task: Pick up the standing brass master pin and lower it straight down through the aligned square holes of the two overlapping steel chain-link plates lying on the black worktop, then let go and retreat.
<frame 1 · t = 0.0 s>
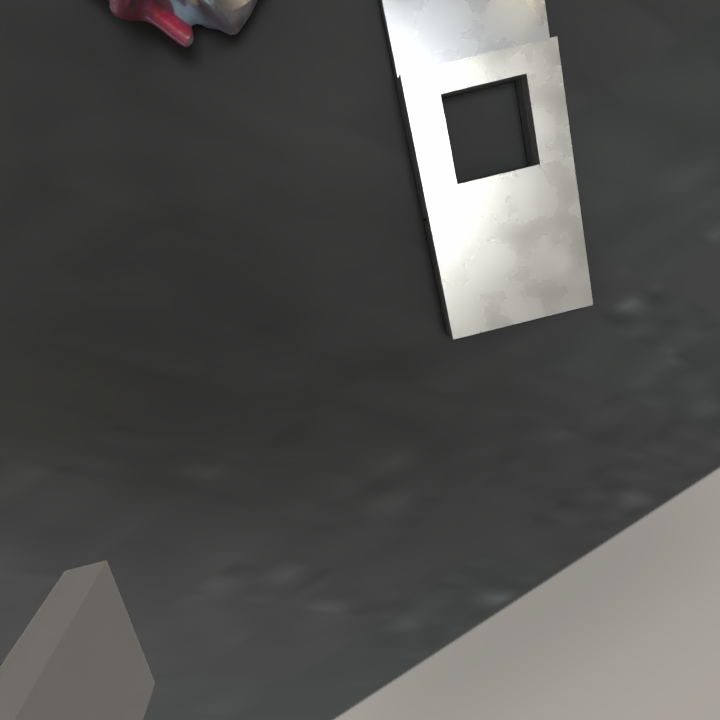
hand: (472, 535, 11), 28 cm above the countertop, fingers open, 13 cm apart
upper link: (494, 208, 37), resting on lower link
lower link: (468, 54, 35), on the countertop
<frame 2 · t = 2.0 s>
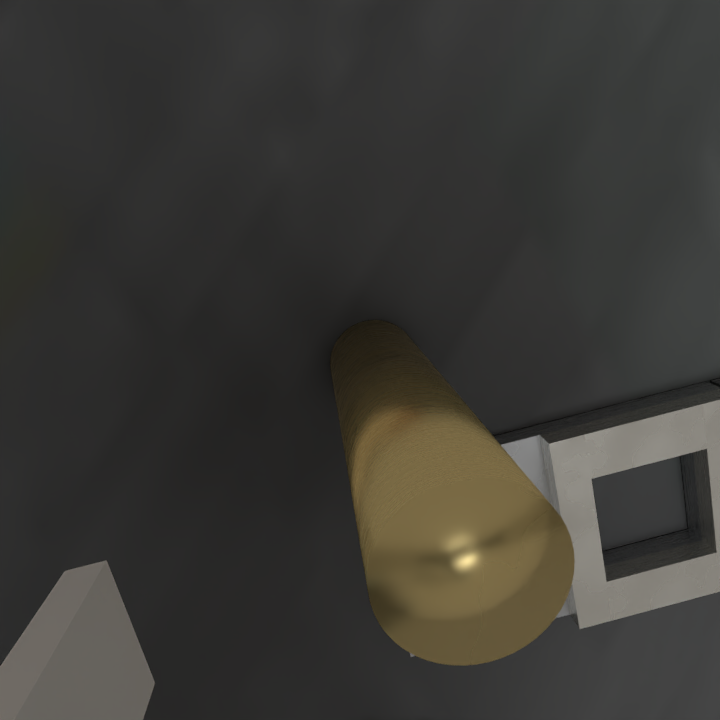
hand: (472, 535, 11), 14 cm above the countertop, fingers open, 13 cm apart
lower link: (535, 520, 27), on the countertop
master pin: (373, 363, 25), on the countertop
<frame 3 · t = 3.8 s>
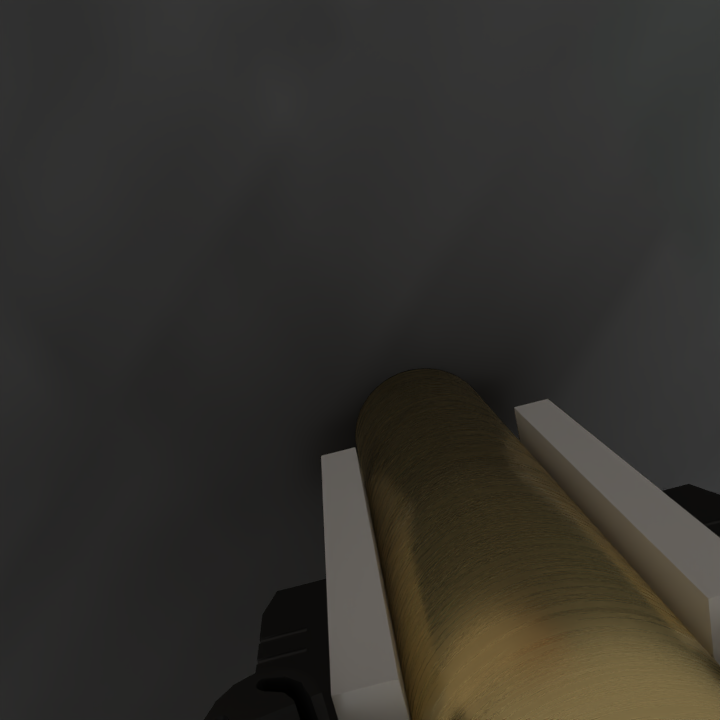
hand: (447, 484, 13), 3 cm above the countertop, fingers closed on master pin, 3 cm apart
master pin: (422, 433, 16), on the countertop, touching gripper
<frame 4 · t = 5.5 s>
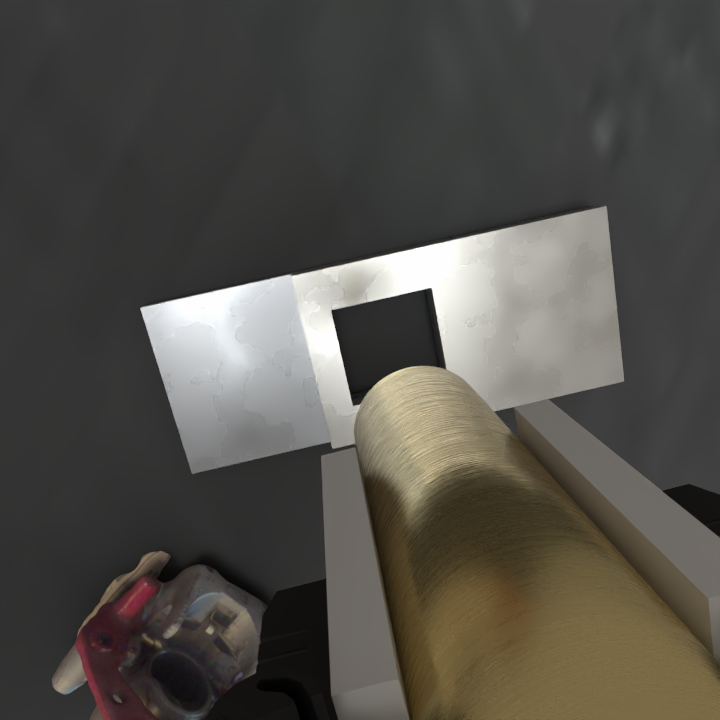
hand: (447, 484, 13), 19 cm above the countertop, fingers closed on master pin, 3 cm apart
upper link: (469, 320, 32), resting on lower link
lower link: (302, 358, 31), on the countertop
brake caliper: (190, 627, 35), on the countertop
master pin: (420, 430, 16), point 16 cm above the countertop, touching gripper
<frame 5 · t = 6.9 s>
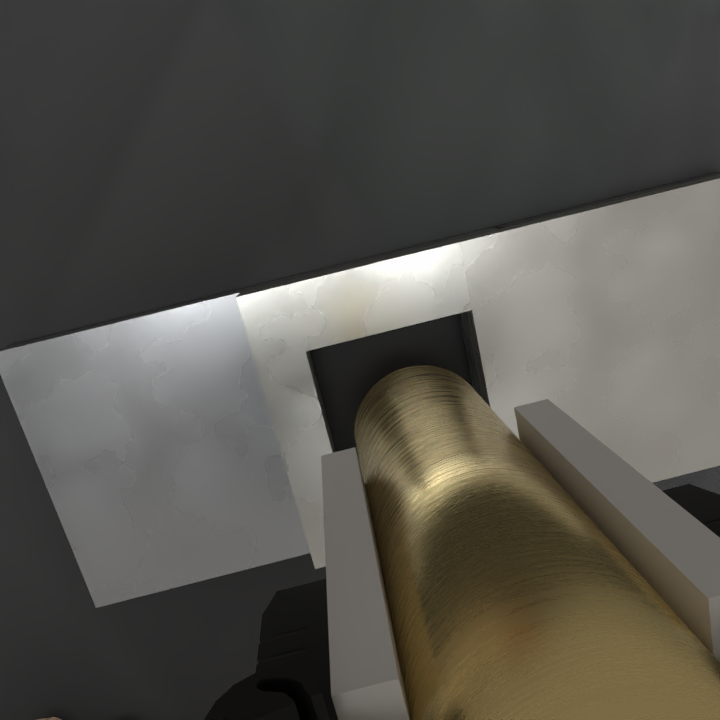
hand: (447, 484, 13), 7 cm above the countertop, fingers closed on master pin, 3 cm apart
upper link: (527, 357, 20), resting on lower link
lower link: (266, 423, 20), on the countertop
master pin: (420, 429, 16), point 4 cm above the countertop, touching gripper
when the fingers open (4 cm above the countertop, at t = 7.7 s): master pin stays where it is, on the countertop.
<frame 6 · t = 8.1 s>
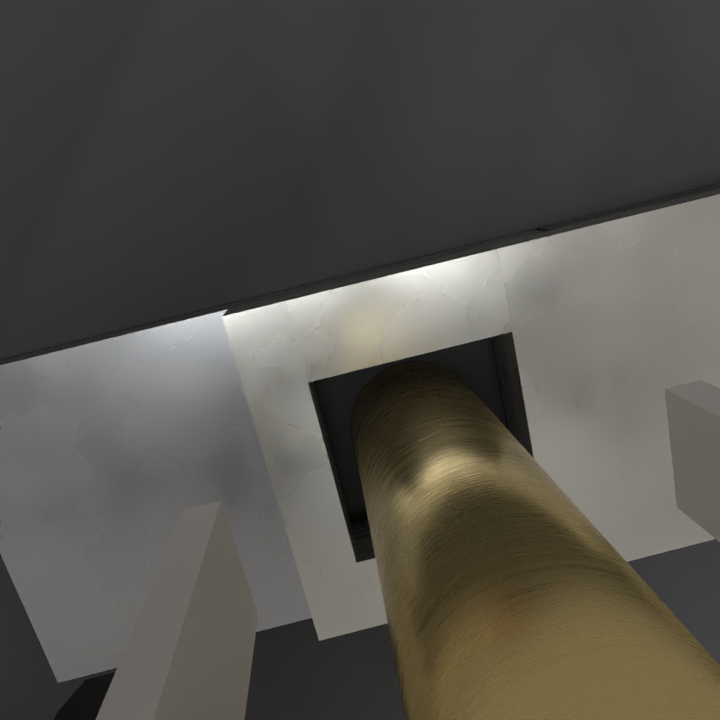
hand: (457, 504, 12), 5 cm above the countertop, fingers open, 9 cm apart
upper link: (572, 384, 17), resting on lower link
lower link: (260, 463, 17), on the countertop
master pin: (415, 423, 17), on the countertop
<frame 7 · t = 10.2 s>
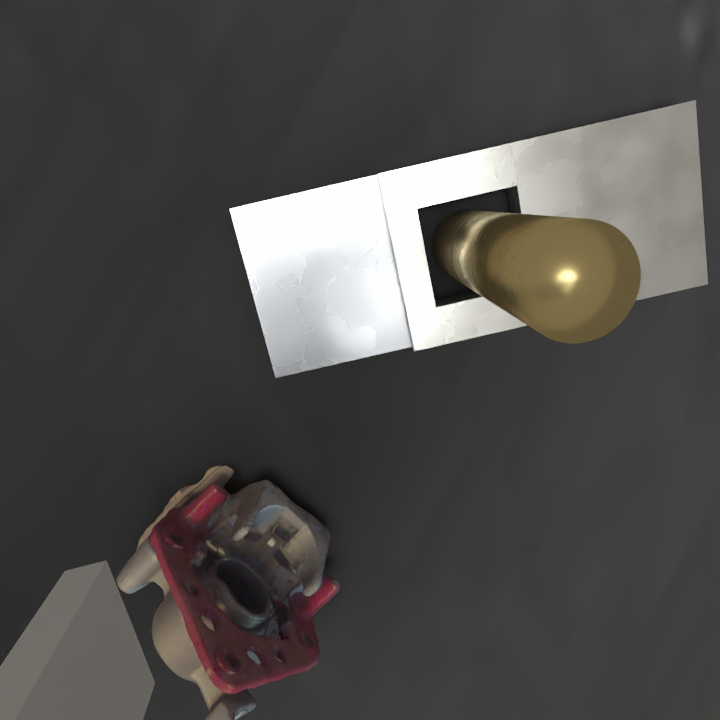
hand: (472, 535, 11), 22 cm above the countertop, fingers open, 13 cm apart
upper link: (549, 225, 32), resting on lower link
lower link: (383, 264, 32), on the countertop
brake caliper: (246, 544, 36), on the countertop
master pin: (465, 244, 32), on the countertop
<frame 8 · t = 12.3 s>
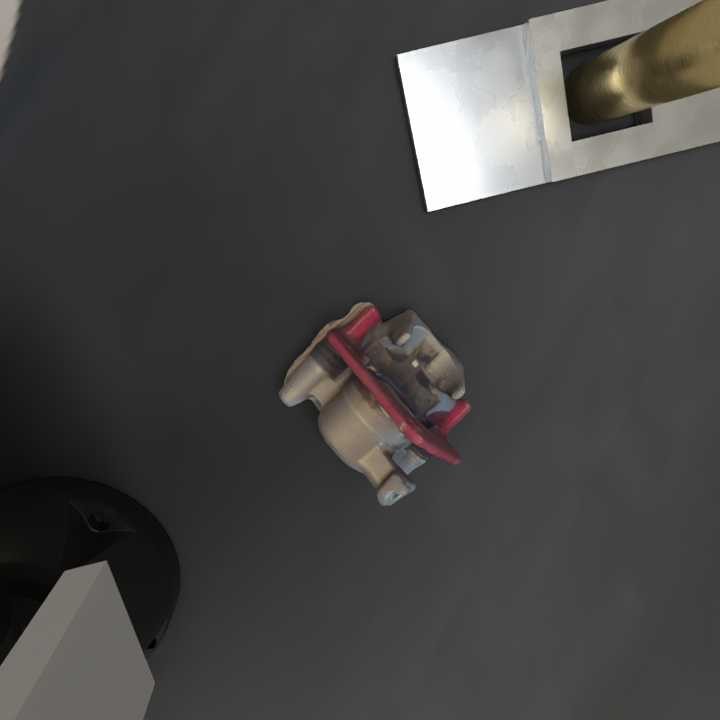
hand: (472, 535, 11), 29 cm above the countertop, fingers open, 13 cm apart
upper link: (662, 76, 37), resting on lower link
lower link: (521, 110, 37), on the countertop
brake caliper: (380, 379, 41), on the countertop
master pin: (590, 93, 37), on the countertop
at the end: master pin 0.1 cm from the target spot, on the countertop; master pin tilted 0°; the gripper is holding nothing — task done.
